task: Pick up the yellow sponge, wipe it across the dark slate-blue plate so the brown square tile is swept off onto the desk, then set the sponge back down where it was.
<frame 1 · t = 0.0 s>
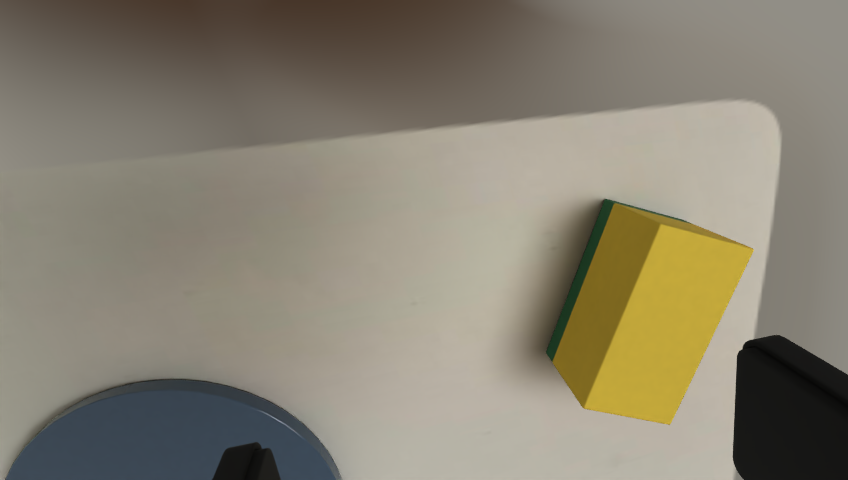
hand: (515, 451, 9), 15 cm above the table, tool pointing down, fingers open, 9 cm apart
sponge: (612, 288, 26), on the table
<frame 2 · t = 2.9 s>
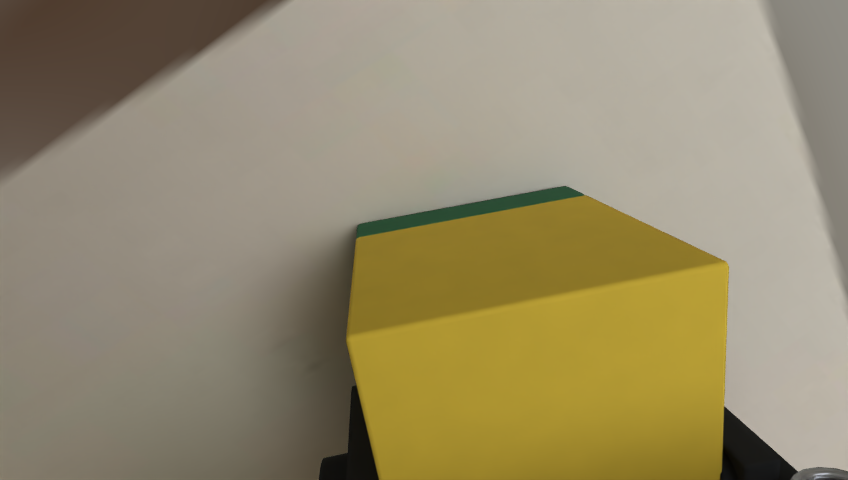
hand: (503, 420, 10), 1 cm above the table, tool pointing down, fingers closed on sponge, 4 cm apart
sponge: (488, 382, 12), on the table, touching gripper
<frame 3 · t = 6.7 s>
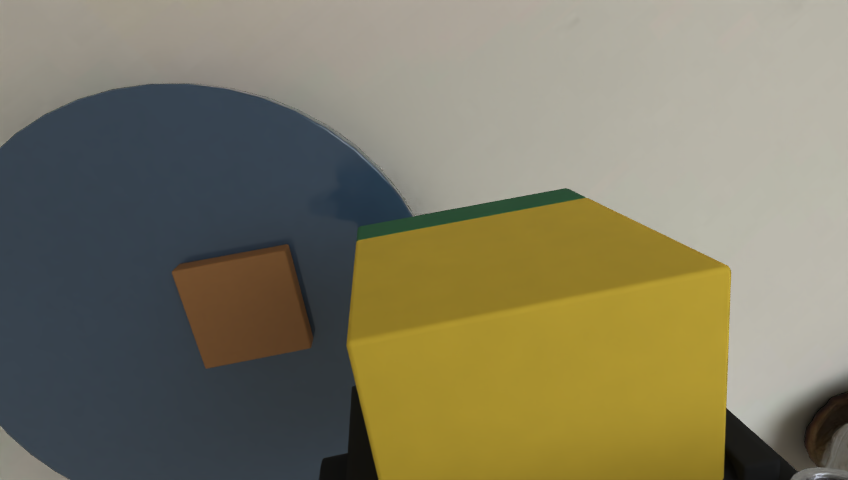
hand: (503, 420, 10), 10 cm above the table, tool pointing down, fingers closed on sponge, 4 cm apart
plate: (215, 319, 19), on the table
sponge: (488, 385, 12), point 8 cm above the table, touching gripper
brown square tile: (249, 302, 18), point 1 cm above the table, touching plate
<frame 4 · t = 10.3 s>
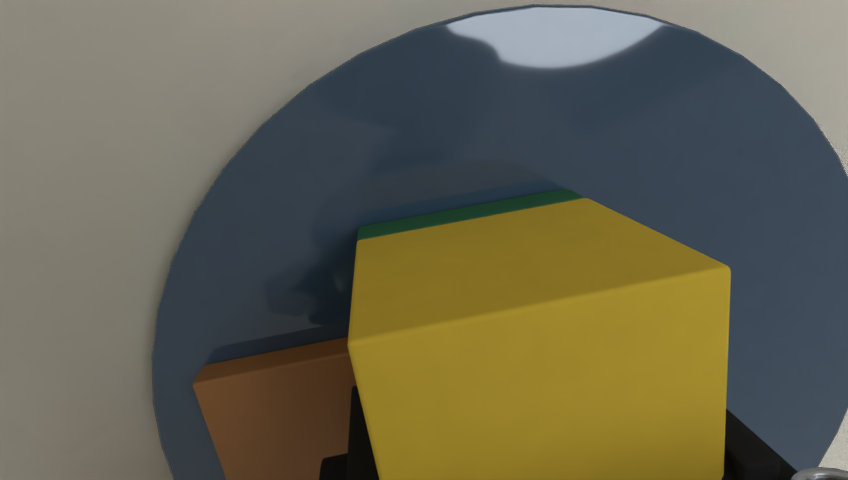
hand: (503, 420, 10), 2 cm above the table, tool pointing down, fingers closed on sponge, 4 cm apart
plate: (522, 377, 13), on the table
sponge: (489, 385, 12), point 1 cm above the table, touching gripper
brown square tile: (312, 419, 12), point 1 cm above the table, touching plate
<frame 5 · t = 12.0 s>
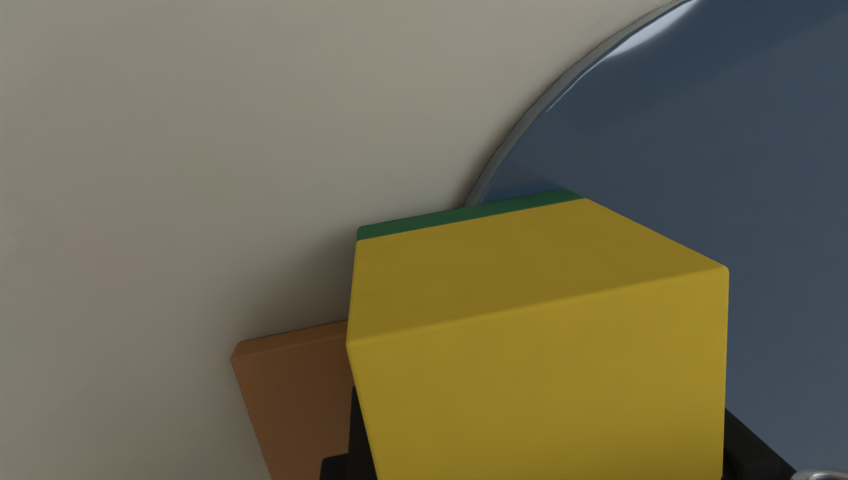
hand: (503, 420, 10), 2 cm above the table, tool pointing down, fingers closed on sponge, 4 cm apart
plate: (752, 333, 13), on the table
sponge: (488, 385, 12), point 1 cm above the table, touching gripper, plate
brown square tile: (337, 393, 12), on the table
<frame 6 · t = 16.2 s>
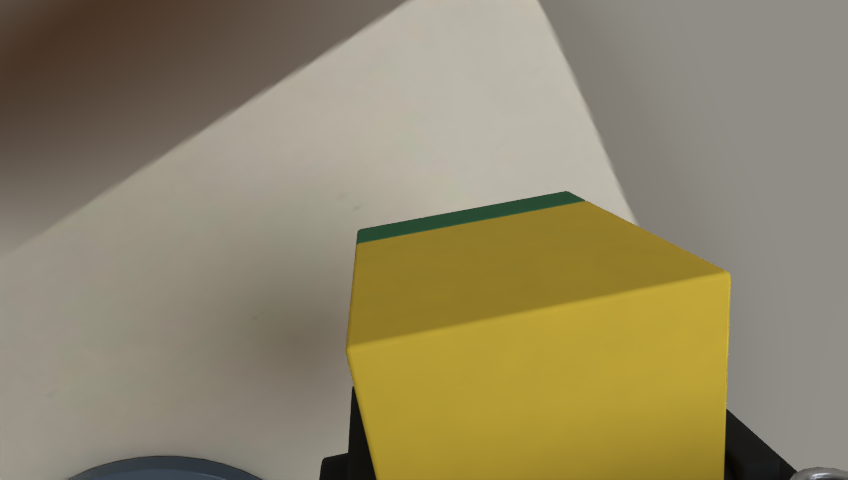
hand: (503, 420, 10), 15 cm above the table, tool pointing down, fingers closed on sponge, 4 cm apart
sponge: (488, 388, 12), point 13 cm above the table, touching gripper
when the fingers open (1 cm above the table, at t = 19.5 s): sponge stays where it is, on the table.
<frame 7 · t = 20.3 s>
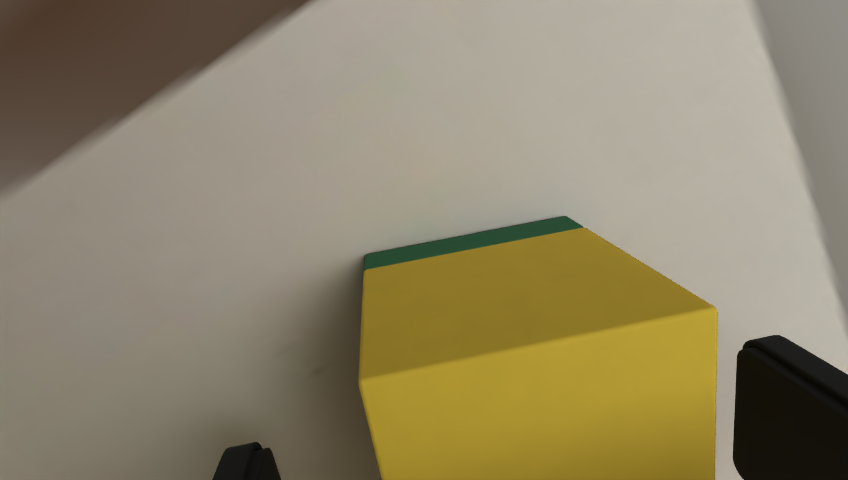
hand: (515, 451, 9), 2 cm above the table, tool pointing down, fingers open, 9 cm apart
sponge: (491, 404, 12), on the table
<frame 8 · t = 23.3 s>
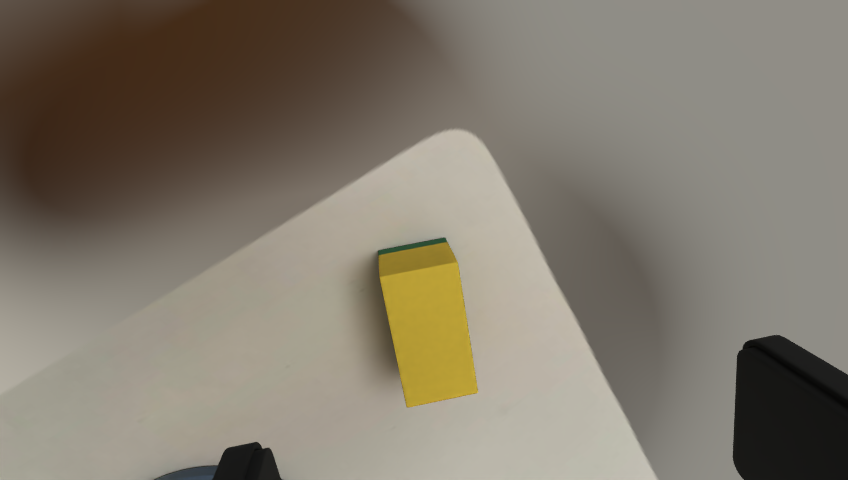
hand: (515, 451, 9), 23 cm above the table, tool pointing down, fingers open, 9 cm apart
sponge: (422, 303, 34), on the table
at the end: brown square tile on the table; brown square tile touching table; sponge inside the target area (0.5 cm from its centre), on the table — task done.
